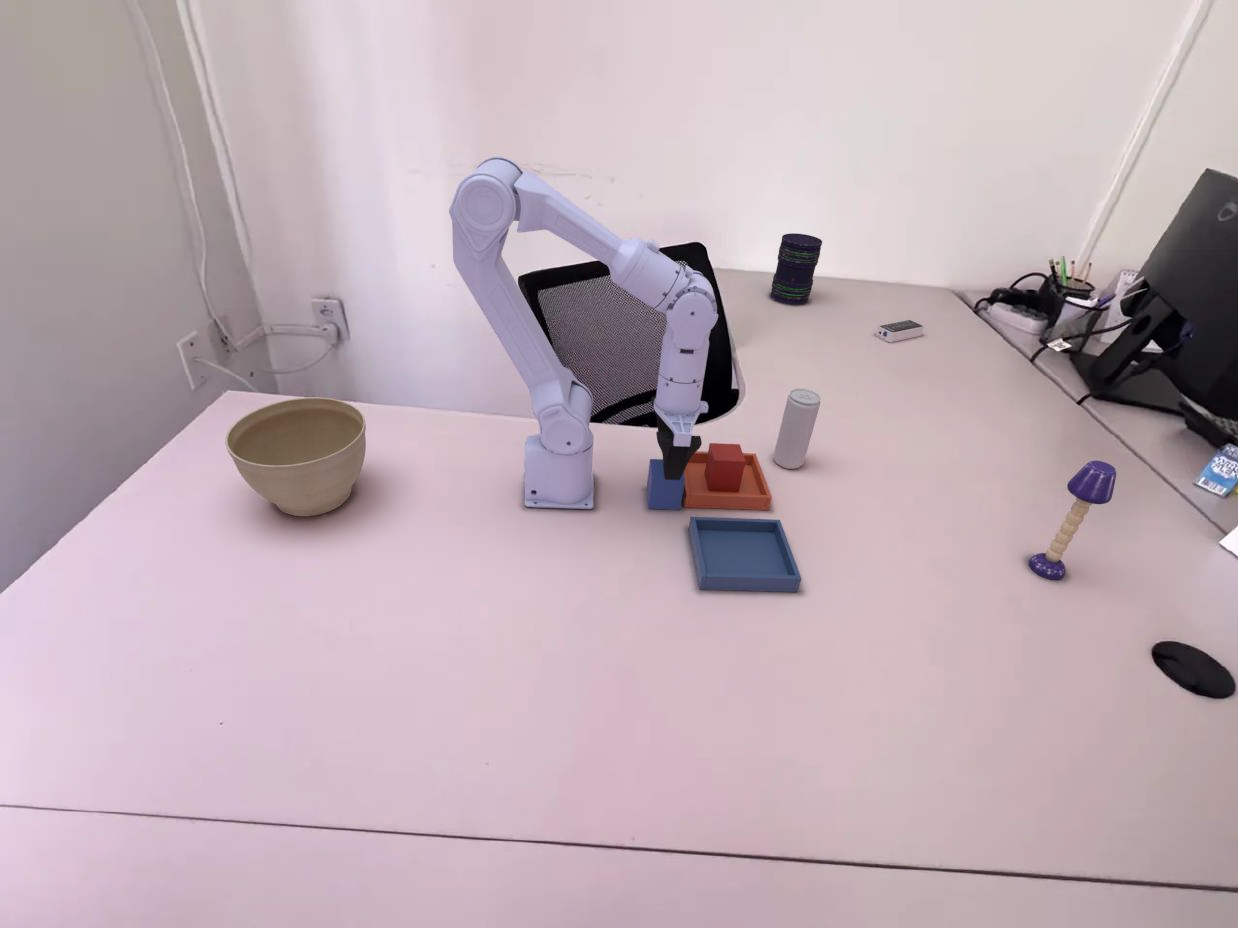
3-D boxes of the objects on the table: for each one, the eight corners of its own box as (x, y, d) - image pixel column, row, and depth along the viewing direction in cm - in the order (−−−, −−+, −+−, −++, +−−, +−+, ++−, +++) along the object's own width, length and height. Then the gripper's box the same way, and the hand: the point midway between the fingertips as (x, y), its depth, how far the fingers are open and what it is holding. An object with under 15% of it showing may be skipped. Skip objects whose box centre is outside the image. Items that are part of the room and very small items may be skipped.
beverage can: (803, 472, 101) (822, 405, 95) (772, 467, 102) (789, 400, 95) (802, 456, 105) (820, 390, 99) (772, 451, 106) (788, 385, 99)
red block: (708, 491, 95) (714, 460, 92) (704, 473, 99) (709, 442, 96) (738, 492, 95) (745, 461, 92) (733, 474, 99) (739, 444, 96)
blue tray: (699, 589, 79) (701, 576, 78) (688, 529, 88) (690, 516, 87) (797, 592, 80) (801, 578, 79) (776, 532, 89) (780, 519, 88)
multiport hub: (921, 335, 152) (925, 326, 151) (889, 342, 147) (892, 333, 146) (906, 328, 155) (909, 319, 154) (874, 335, 150) (877, 325, 149)
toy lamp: (1048, 585, 84) (1112, 481, 75) (1016, 562, 87) (1073, 459, 78) (1070, 574, 86) (1135, 472, 77) (1038, 552, 89) (1096, 451, 80)
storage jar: (769, 302, 163) (782, 242, 154) (768, 289, 171) (780, 231, 163) (810, 307, 162) (824, 247, 154) (807, 294, 170) (821, 236, 162)
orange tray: (684, 507, 92) (686, 494, 91) (676, 462, 101) (677, 450, 100) (768, 510, 93) (772, 497, 92) (753, 465, 102) (755, 453, 101)
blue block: (648, 509, 91) (652, 477, 88) (646, 489, 95) (649, 458, 92) (680, 510, 92) (685, 478, 89) (676, 490, 95) (681, 459, 92)
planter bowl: (227, 493, 88) (203, 424, 82) (340, 449, 98) (327, 385, 92) (281, 553, 79) (259, 481, 73) (399, 498, 89) (389, 431, 83)
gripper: (722, 402, 76) (705, 494, 84) (704, 350, 88) (691, 434, 96) (662, 400, 76) (651, 493, 84) (653, 347, 88) (644, 433, 95)
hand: (669, 461), depth 90 cm, fingers open, 7 cm apart
